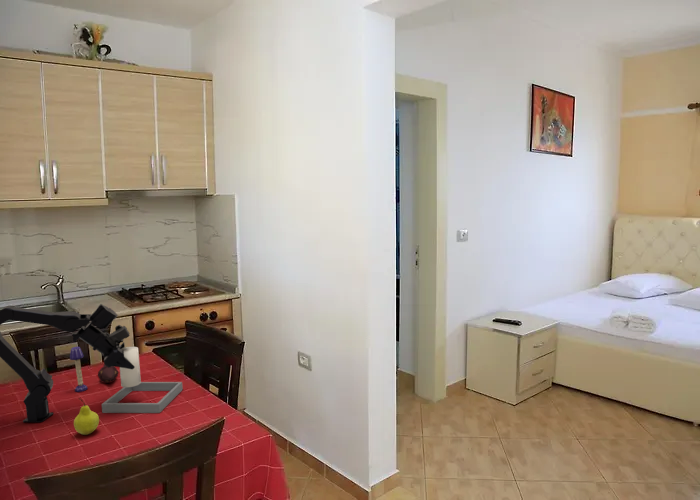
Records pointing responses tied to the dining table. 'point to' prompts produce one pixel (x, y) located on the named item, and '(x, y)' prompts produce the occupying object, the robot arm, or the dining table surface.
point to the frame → (115, 407)
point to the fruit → (86, 420)
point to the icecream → (107, 374)
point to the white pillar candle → (131, 375)
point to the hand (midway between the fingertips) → (133, 365)
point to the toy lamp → (78, 367)
